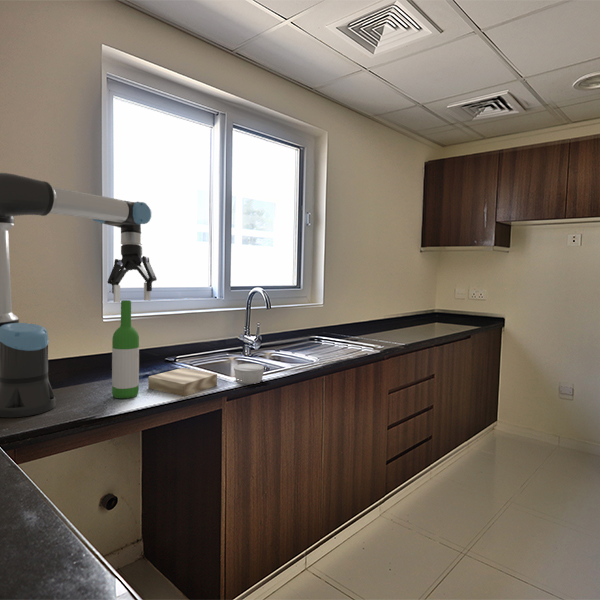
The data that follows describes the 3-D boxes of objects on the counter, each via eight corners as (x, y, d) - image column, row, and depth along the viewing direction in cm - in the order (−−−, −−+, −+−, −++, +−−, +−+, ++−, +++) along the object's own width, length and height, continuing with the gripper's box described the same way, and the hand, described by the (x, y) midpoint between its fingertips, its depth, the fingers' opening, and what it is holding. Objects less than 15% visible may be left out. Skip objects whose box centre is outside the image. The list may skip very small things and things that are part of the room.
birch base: (183, 396, 138) (184, 384, 137) (148, 388, 145) (148, 376, 145) (216, 385, 152) (217, 374, 151) (182, 378, 159) (183, 367, 159)
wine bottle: (130, 390, 142) (131, 299, 140) (143, 395, 137) (144, 301, 135) (107, 395, 136) (107, 300, 133) (120, 401, 131) (120, 302, 129)
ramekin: (237, 385, 152) (237, 371, 152) (230, 378, 163) (230, 364, 162) (267, 383, 157) (268, 369, 156) (259, 376, 167) (259, 362, 167)
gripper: (165, 244, 164) (166, 300, 163) (111, 250, 172) (111, 303, 170) (153, 240, 157) (153, 298, 155) (97, 246, 165) (97, 302, 163)
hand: (131, 301), depth 163 cm, fingers open, 13 cm apart
